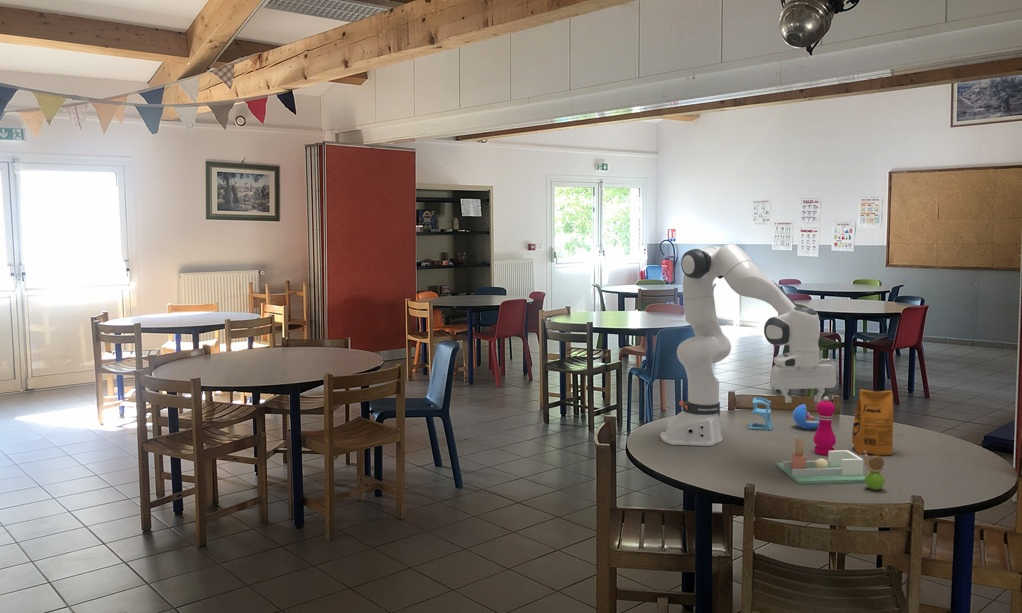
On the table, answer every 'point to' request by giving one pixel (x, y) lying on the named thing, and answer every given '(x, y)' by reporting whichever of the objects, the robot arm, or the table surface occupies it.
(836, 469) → the pitch
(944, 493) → the table surface
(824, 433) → the pepper mill
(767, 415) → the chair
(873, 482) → the snail figurine
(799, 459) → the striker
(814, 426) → the cell model
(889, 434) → the coffee package
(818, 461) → the ball
